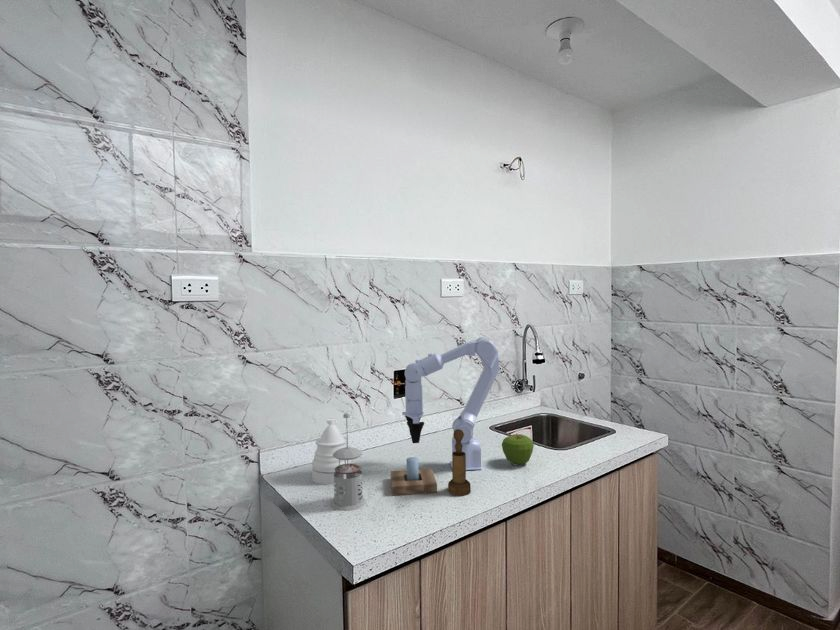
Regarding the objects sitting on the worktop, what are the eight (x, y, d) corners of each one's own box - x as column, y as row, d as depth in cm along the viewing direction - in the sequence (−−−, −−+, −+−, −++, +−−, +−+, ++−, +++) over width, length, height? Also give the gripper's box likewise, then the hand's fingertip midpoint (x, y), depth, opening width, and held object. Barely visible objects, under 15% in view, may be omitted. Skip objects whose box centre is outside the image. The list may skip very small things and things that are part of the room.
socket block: (431, 476, 137) (431, 468, 137) (437, 492, 125) (436, 484, 125) (390, 479, 136) (390, 471, 136) (392, 495, 124) (392, 486, 124)
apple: (520, 456, 154) (520, 428, 154) (540, 465, 145) (540, 436, 145) (495, 461, 150) (495, 432, 149) (515, 471, 140) (514, 441, 140)
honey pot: (310, 472, 143) (309, 418, 143) (349, 466, 147) (347, 414, 147) (314, 487, 131) (313, 428, 131) (356, 480, 135) (355, 423, 135)
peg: (418, 482, 133) (417, 456, 132) (419, 487, 129) (418, 461, 129) (406, 483, 132) (405, 457, 132) (407, 488, 129) (406, 461, 129)
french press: (334, 513, 114) (332, 419, 113) (326, 496, 124) (324, 409, 124) (370, 506, 117) (368, 414, 117) (359, 490, 128) (357, 406, 128)
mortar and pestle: (464, 498, 122) (463, 434, 121) (444, 493, 125) (443, 431, 125) (474, 489, 127) (473, 428, 127) (454, 484, 131) (453, 425, 130)
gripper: (400, 395, 152) (401, 433, 152) (403, 404, 138) (404, 446, 138) (420, 394, 153) (421, 432, 153) (425, 403, 138) (426, 445, 139)
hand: (414, 439), depth 146 cm, fingers open, 7 cm apart
